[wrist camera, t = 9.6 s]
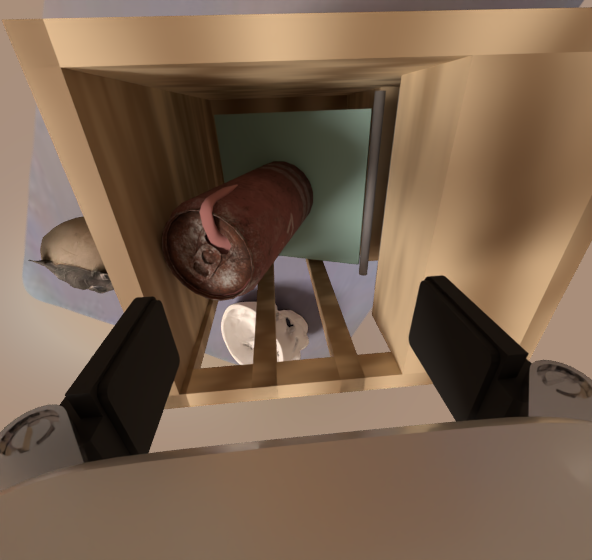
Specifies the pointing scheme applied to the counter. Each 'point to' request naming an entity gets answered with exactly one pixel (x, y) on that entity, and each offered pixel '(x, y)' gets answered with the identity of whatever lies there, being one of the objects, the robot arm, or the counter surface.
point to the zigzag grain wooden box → (403, 170)
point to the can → (236, 230)
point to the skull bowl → (242, 332)
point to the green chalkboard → (316, 171)
